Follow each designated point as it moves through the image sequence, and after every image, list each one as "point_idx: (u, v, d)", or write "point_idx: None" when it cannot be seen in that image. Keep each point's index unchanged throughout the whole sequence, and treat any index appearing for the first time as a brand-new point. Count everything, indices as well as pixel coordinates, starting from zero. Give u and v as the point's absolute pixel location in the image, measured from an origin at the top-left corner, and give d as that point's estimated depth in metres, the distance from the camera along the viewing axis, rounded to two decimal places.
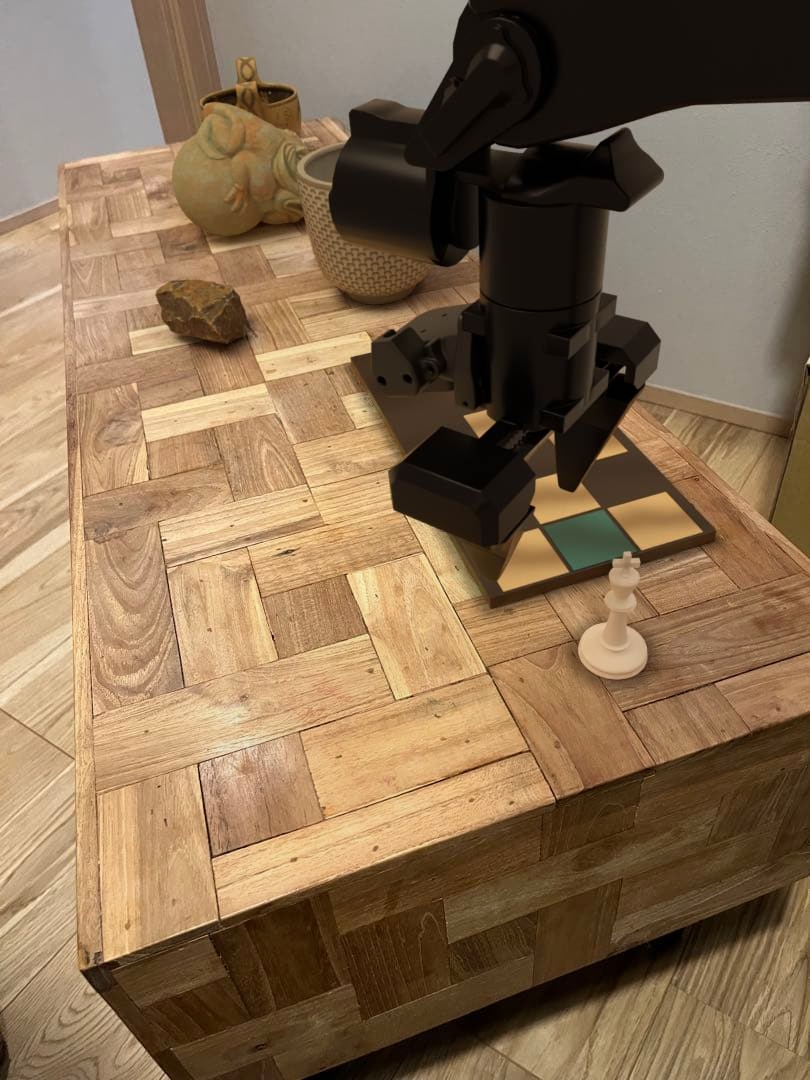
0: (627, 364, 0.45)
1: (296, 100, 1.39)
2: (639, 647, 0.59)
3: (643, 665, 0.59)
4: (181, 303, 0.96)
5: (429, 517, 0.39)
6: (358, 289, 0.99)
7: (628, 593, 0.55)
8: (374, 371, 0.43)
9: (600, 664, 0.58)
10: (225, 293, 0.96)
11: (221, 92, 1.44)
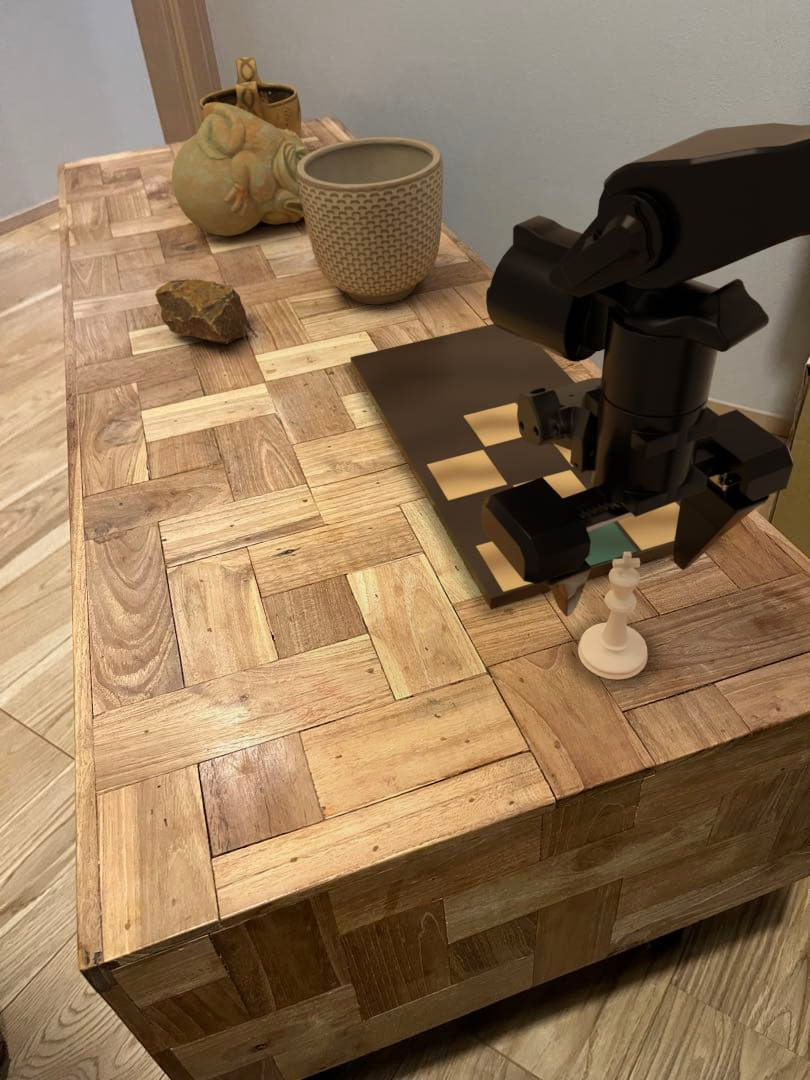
0: (743, 476, 0.49)
1: (296, 100, 1.39)
2: (639, 647, 0.59)
3: (643, 665, 0.59)
4: (181, 303, 0.96)
5: (499, 543, 0.48)
6: (358, 289, 0.99)
7: (628, 593, 0.55)
8: (518, 416, 0.52)
9: (600, 664, 0.58)
10: (225, 293, 0.96)
11: (221, 92, 1.44)
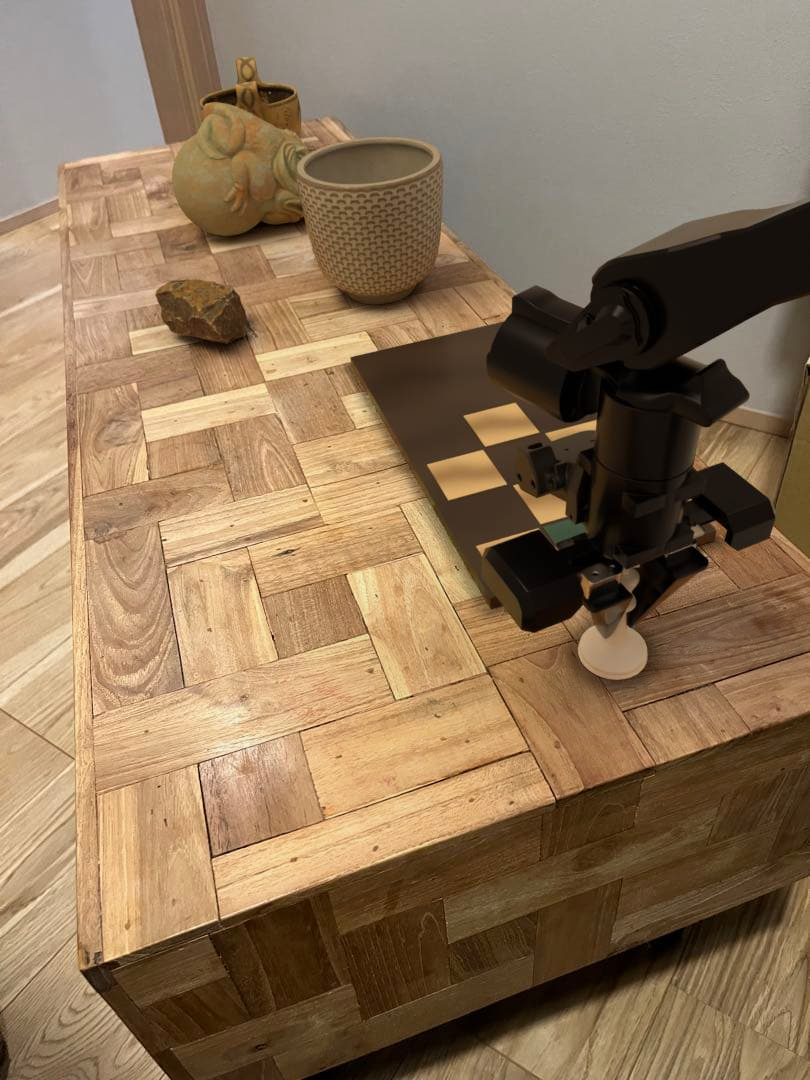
0: (728, 529, 0.52)
1: (296, 100, 1.39)
2: (639, 647, 0.59)
3: (643, 665, 0.59)
4: (181, 303, 0.96)
5: (498, 593, 0.51)
6: (358, 289, 0.99)
7: None
8: (516, 468, 0.55)
9: (600, 664, 0.58)
10: (225, 293, 0.96)
11: (221, 92, 1.44)
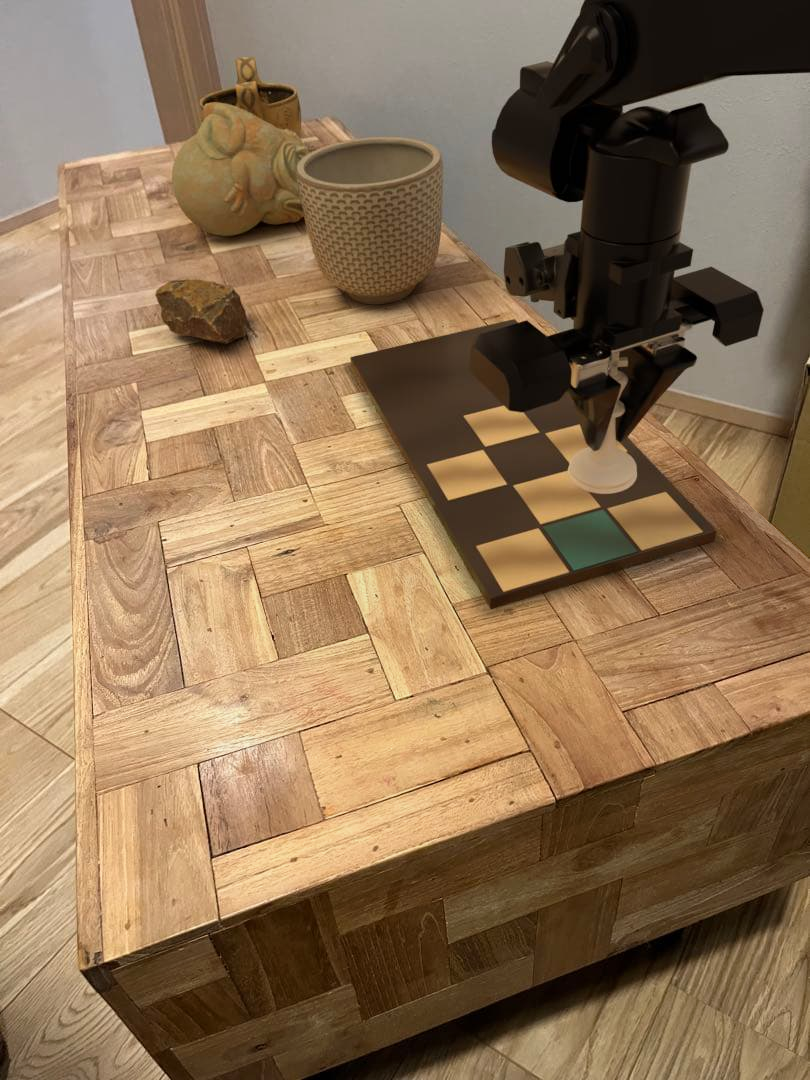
0: (715, 320, 0.52)
1: (296, 100, 1.39)
2: (629, 464, 0.59)
3: (632, 481, 0.59)
4: (181, 303, 0.96)
5: (486, 381, 0.51)
6: (358, 289, 0.99)
7: None
8: (505, 271, 0.55)
9: (589, 479, 0.58)
10: (225, 293, 0.96)
11: (221, 92, 1.44)
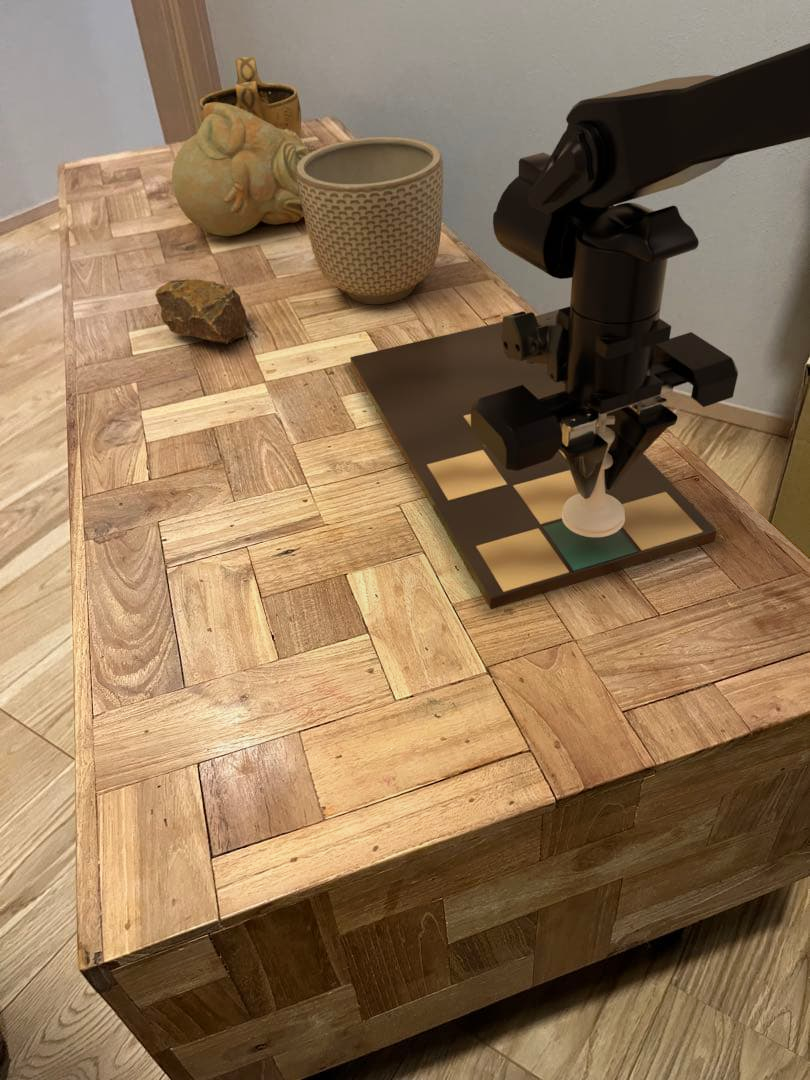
0: (694, 384, 0.57)
1: (296, 100, 1.39)
2: (617, 509, 0.64)
3: (621, 525, 0.64)
4: (181, 303, 0.96)
5: (485, 440, 0.56)
6: (358, 289, 0.99)
7: None
8: (502, 337, 0.60)
9: (581, 523, 0.64)
10: (225, 293, 0.96)
11: (221, 92, 1.44)
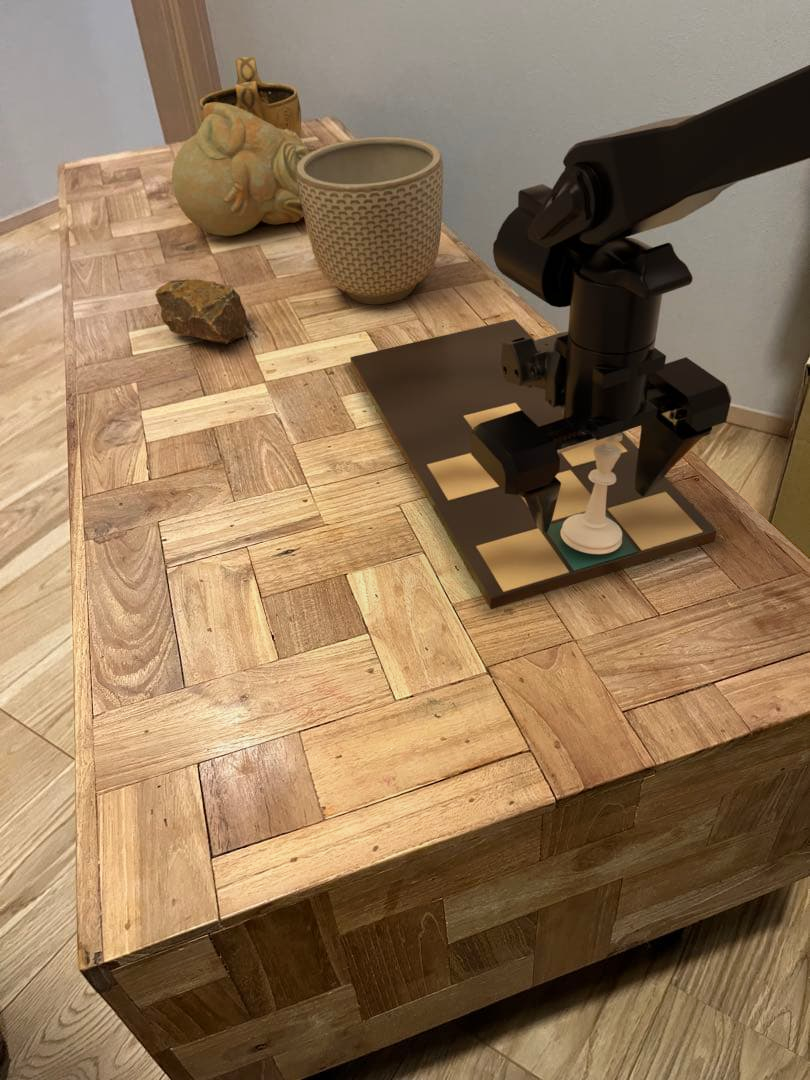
0: (688, 409, 0.59)
1: (296, 100, 1.39)
2: (615, 530, 0.66)
3: (618, 545, 0.66)
4: (181, 303, 0.96)
5: (485, 464, 0.58)
6: (358, 289, 0.99)
7: (610, 466, 0.62)
8: (502, 362, 0.62)
9: (580, 539, 0.65)
10: (225, 293, 0.96)
11: (221, 92, 1.44)
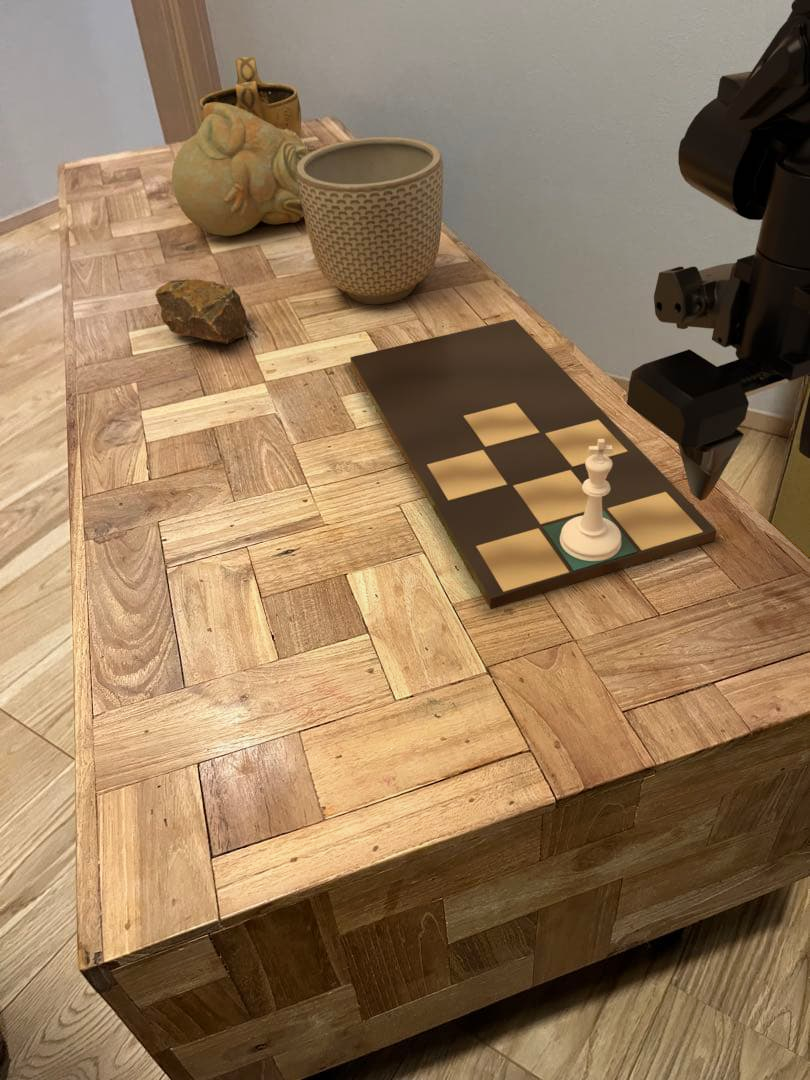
0: None
1: (296, 100, 1.39)
2: (614, 534, 0.66)
3: (617, 549, 0.66)
4: (181, 303, 0.96)
5: (650, 413, 0.48)
6: (358, 289, 0.99)
7: (602, 478, 0.62)
8: (655, 297, 0.52)
9: (578, 547, 0.65)
10: (225, 293, 0.96)
11: (221, 92, 1.44)
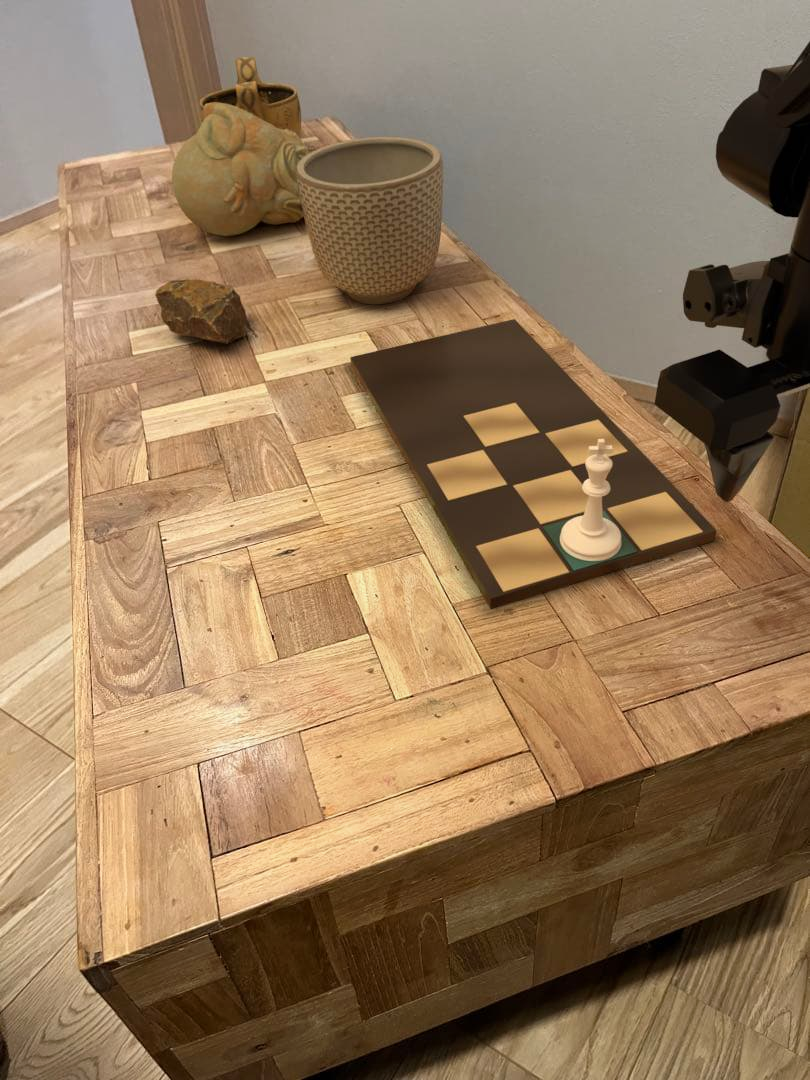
0: None
1: (296, 100, 1.39)
2: (614, 534, 0.66)
3: (617, 549, 0.66)
4: (181, 303, 0.96)
5: (678, 415, 0.47)
6: (358, 289, 0.99)
7: (602, 478, 0.62)
8: (684, 295, 0.51)
9: (578, 547, 0.65)
10: (225, 293, 0.96)
11: (221, 92, 1.44)
